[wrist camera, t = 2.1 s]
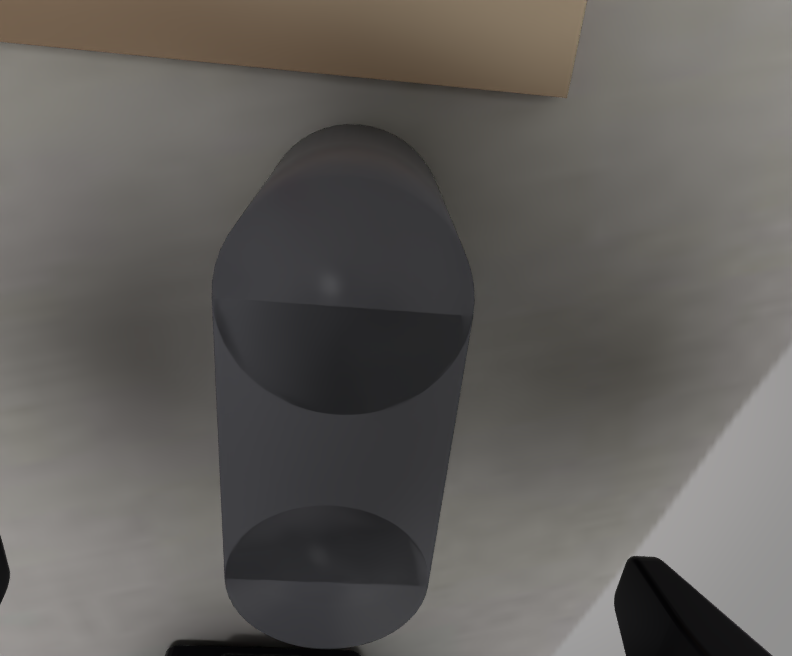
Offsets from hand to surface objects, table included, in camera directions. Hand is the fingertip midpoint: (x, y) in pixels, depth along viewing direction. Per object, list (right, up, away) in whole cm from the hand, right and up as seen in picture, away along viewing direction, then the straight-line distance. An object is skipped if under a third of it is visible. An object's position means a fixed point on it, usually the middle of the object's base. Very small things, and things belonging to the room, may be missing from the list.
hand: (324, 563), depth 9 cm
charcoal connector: (0, +2, +7) cm, 7 cm away
